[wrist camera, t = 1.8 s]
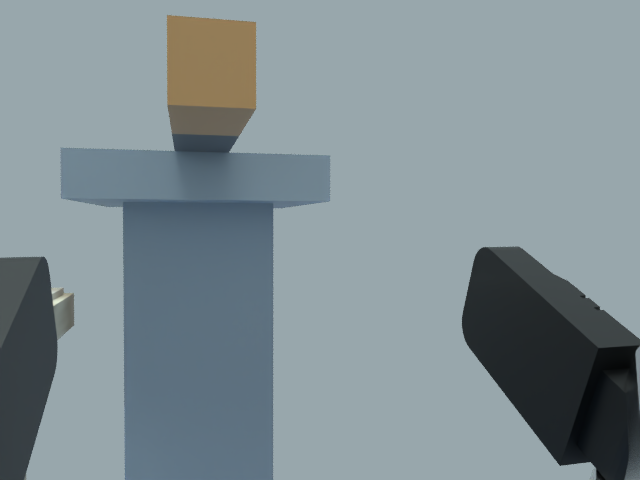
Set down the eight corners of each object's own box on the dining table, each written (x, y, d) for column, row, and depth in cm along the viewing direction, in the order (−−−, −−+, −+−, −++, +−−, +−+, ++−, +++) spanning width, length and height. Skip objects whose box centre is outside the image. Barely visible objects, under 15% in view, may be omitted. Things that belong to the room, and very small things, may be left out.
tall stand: (327, 862, 27) (330, 155, 26) (68, 925, 24) (60, 147, 23) (279, 646, 40) (280, 178, 39) (110, 672, 38) (106, 174, 37)
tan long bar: (255, 108, 15) (255, 22, 15) (167, 104, 15) (167, 15, 15) (212, 179, 40) (212, 146, 40) (179, 178, 40) (179, 145, 40)
